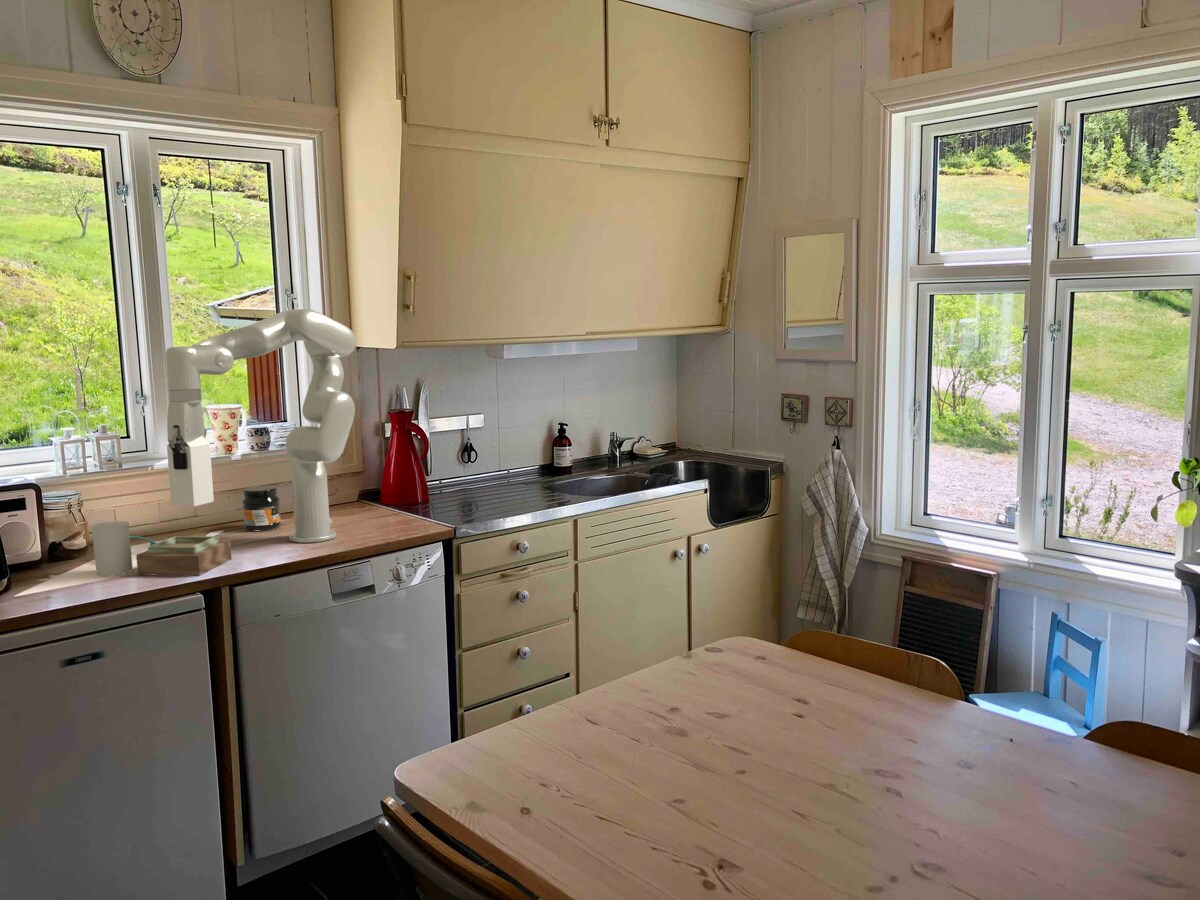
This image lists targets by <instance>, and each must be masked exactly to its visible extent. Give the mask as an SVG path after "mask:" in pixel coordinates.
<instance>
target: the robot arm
mask: <svg viewBox="0 0 1200 900" xmlns="http://www.w3.org/2000/svg"><path fill="white" fill-rule="evenodd" d="M298 341H299V342H301V341H303V344H304V348H305V350H306V352H307V354H308V355H309V357H310V359H311V360H310V361H311V363H312V368H313V369H312V370H313V371H312V376H311V380H310V382H309V385H308V389H307V391H306V395H305V397H304V401H303V404H302V409H301V410H302V411H301V412H302V417H303V418H304V419H305V420H306V421H308V422H309V423H312V424H316V425H320V426H319V427H317V426H311V425H310V426H306V425H305V426H304V425H303V426H298V427H296V428H294V429H292V430H291V431H290V432H289V433H288V435H287V437H286V439H285V450H286V454H287V459H288V462H289V468H290V474H291V475H290V476H291V477H290V478H291V488H292V489H291V491H292V504H293V505H292V508H293V522H294V532H293V533H291V534H290V535H289V541H291V542H294V543H302V544H303V543H304V544H306V543H307V544H308V543H310V544H311V543H318V542H325V541H329V540H332V539H334V538H336V536H337V531H336V530H333V529H331V524H333V521H334V520H333V518H331V517H330V507H329V506H330V505H329V503H330V502H329V486H328V473H327V469H326V467H325V464H328V463H329V464H330V463H333V462H336V461H337V460H338V459H339V458H341V456H342V454H343V453H344V450H345V448H346V444H347V442H348V439H349V435H350V432H351V430H352V429H351V428H352V426H353V424H354V423H353V422H354V420H355V414H356V406H355V402H354V400H353V398H352V396H350V394H348V393H346V392H345V391H342V388H343V383H344V378H345V373H344V367H343V364H342V361H341V359H340V358H344V357H347V356H349V355H351V354H352V353H353V352H354V351H355V348H356V345H357V339H356V335H355V334H354V332H353V331H352V330H351V328H349V327H348V326H346V325H344V324H343V323H340V322H339V321H336V320H334V319H332V318H331V317H329V316H327V315H324V313H321V312H318V311H316V310H313V309H311V308H310V309H309V308H300V309H298V308H296V309H295V308H293V309H286V310H283V311H281V312H278V313H275V314H273V315H270V316H269V317H265V318H263V319H261V320H259V321H256V322H254V323H251V324H247V325H246V326H242V327H238V328H235V329H233V330H230V331H226V332H223V333H220V334H216V335H213V336H210V337H208V338H206V339H203V340H200V341H198V342H196V343H193V344H192V345H190V346H185V345H184V346H172V347H171V346H170V347H168V348H167V349H166V350H165V362H166V363H165V364H166V366H165V367H166V378H167V389H168V390H167V394H168V407H167V424H166V425H167V438H166V439H167V442H168V444H170V448H171V449H172V450H171V452H172V453H173V464H174V469H187V456H186V453H184V452H185V447H186V444H187V443H188V442H191V441H194V440H196V439H197V438H199V437H201V436H203V437H204V438H205V439H206V437H207V432H208V431H207V429H205V419H204V412H203V407H202V402H203V399H202V398H203V397H202V385H201V383H202V381H201V375H209V376H220V375H224V374H226V373H228V372H229V371H230V370H231V369H232V368H233V366H234V363H235V361H237V360H242V359H243V360H244V359H251V358H257V357H261V356H264V355H265V356H266V355H267V354H269V353H271V352H274V351H276V350H278V349H280V348H282V347H286V346H287V345H289V344H291V343H295V342H298ZM178 434H179V435H180V436H181V437H182V438H183V439H182V438H181V437H180V436H179V435H178ZM178 440H182V441H178ZM206 440H207V439H206ZM179 445H181V447H180V446H179Z"/></svg>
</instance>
